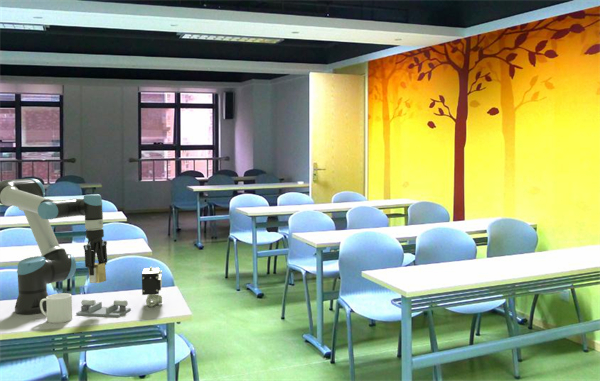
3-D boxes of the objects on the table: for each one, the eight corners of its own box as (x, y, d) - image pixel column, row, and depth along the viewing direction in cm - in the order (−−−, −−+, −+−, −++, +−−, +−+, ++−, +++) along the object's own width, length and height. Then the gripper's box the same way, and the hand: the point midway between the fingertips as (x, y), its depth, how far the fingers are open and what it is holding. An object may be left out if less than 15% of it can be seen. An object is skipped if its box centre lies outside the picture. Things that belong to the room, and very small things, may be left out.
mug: (70, 315, 258) (69, 292, 257) (74, 321, 249) (73, 297, 248) (39, 319, 252) (38, 295, 251) (41, 325, 243) (40, 301, 242)
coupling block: (89, 282, 261) (88, 264, 261) (96, 280, 266) (95, 262, 266) (99, 283, 260) (98, 265, 260) (106, 280, 265) (105, 262, 264)
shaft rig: (76, 315, 258) (75, 302, 257) (89, 308, 269) (89, 296, 268) (118, 317, 254) (118, 304, 254) (130, 310, 265) (130, 298, 264)
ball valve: (161, 309, 266) (160, 270, 265) (142, 310, 264) (141, 271, 263) (163, 299, 284) (162, 262, 282) (145, 300, 282) (144, 263, 281)
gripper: (88, 231, 252) (91, 285, 253) (114, 226, 269) (116, 277, 271) (73, 231, 254) (77, 285, 256) (100, 226, 272) (102, 276, 273)
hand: (97, 280), depth 263 cm, fingers closed on coupling block, 5 cm apart
